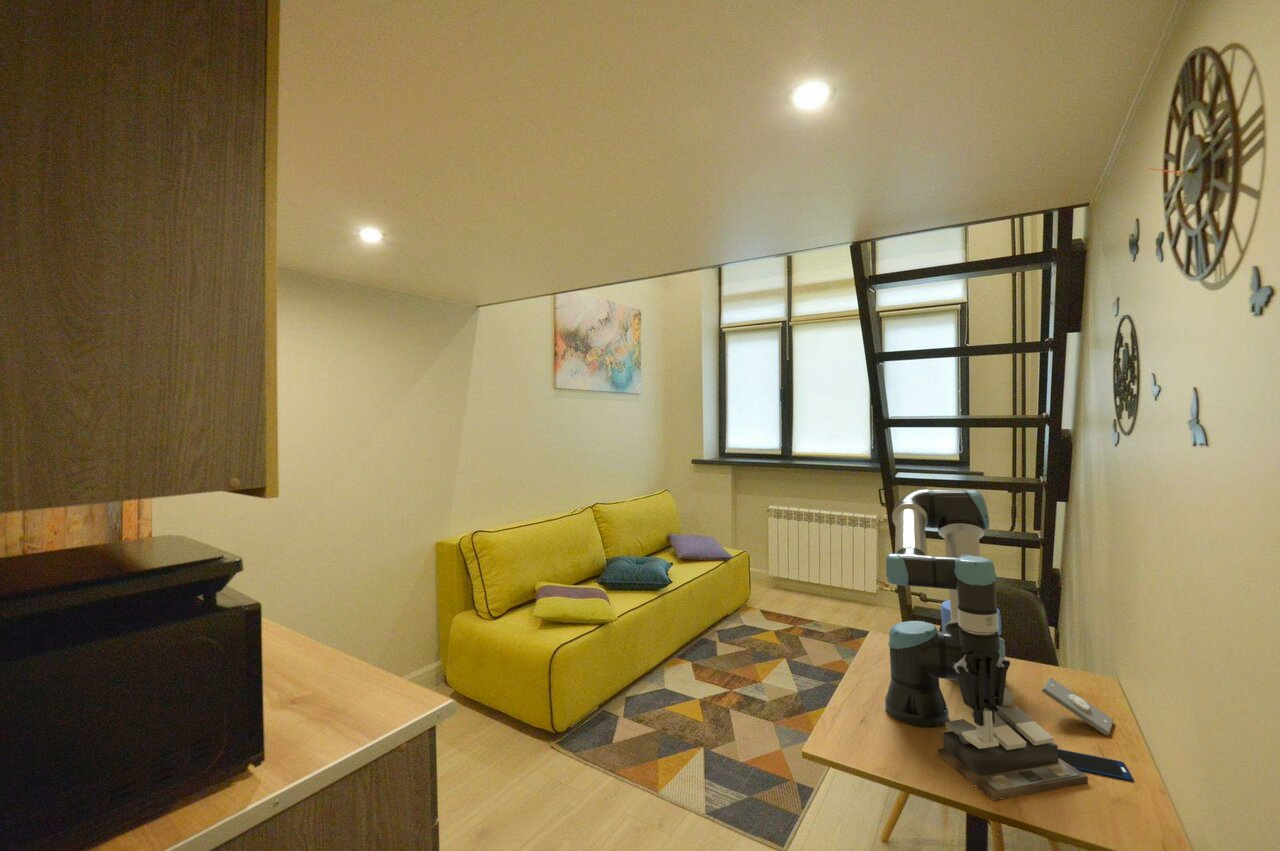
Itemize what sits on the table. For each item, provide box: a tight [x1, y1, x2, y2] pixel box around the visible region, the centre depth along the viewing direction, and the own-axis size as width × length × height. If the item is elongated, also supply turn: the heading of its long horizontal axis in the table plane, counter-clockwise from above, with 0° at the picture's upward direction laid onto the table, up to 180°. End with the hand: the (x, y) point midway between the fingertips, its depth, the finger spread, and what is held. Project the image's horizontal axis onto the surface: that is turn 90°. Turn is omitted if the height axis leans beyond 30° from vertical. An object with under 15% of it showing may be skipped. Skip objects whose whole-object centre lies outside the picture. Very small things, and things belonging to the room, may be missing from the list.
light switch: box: [1041, 676, 1114, 736], centre depth 139 cm, size 8×6×14 cm
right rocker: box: [998, 704, 1055, 746], centre depth 125 cm, size 10×5×3 cm, turn 11°
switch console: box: [937, 722, 1089, 801], centre depth 121 cm, size 16×23×5 cm
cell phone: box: [1058, 748, 1134, 783], centre depth 121 cm, size 7×14×1 cm, turn 61°
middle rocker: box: [971, 711, 1027, 750], centre depth 123 cm, size 10×5×3 cm, turn 11°
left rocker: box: [945, 718, 999, 749], centre depth 122 cm, size 10×5×3 cm, turn 10°
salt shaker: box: [994, 687, 1015, 722], centre depth 133 cm, size 6×6×13 cm
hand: (985, 739), depth 118 cm, fingers closed
